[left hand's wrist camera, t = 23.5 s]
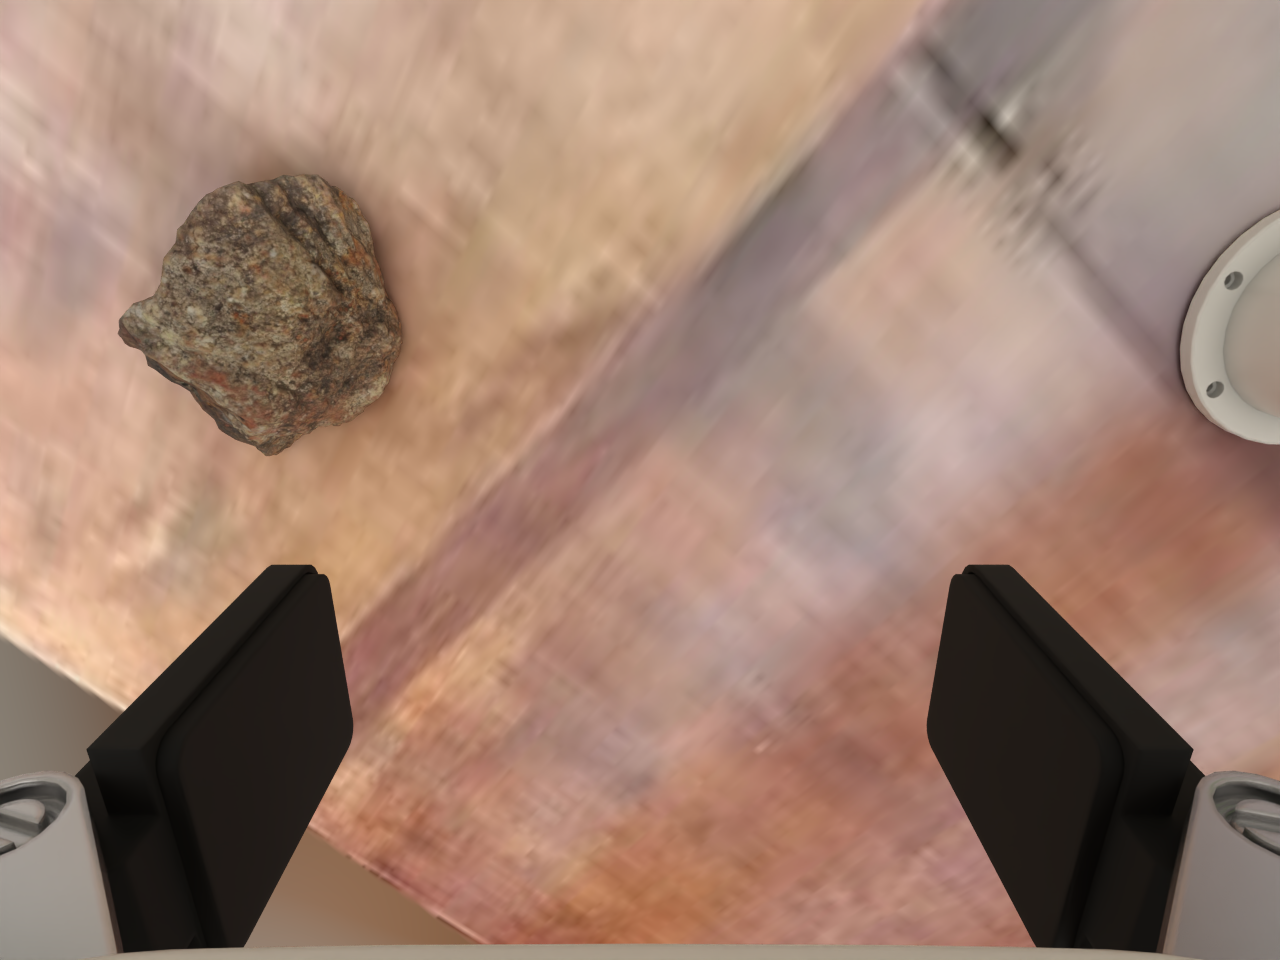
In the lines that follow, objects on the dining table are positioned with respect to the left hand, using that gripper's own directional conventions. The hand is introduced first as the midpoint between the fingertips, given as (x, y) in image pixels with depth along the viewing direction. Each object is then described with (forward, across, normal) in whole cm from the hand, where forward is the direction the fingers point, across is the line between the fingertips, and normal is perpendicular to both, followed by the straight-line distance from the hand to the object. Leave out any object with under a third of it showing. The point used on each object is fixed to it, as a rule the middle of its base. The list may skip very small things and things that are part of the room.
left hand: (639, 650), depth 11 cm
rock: (+29, -17, 0) cm, 34 cm away
